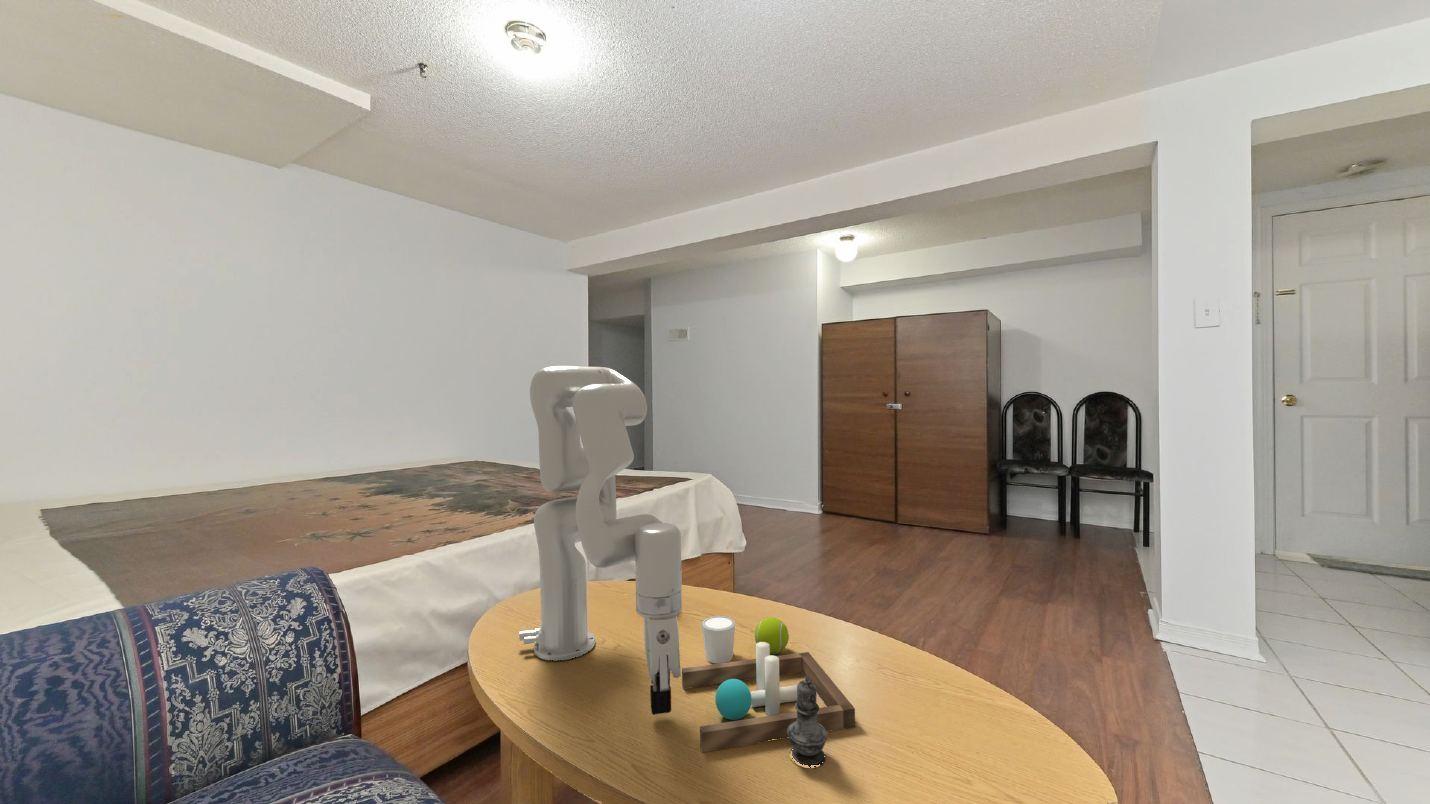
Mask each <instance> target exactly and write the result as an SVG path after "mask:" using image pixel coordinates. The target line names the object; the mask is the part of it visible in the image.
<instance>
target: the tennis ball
mask: <svg viewBox="0 0 1430 804" xmlns="http://www.w3.org/2000/svg"><path fill="white" fill-rule="evenodd" d="M789 637H790V635H789V630H788V627H787V625H786V624H785V623H784V622H783V621H782V620H781V619H779V618H776V617H773V616H772V617H771V616H769V617H766V618H763V619H761V620H760V621H759V622H758V624H757V625H756V627H755V630H754V640H755V643H756V644H757V643H759V642H766V643H768V644H769V645H770V655H777V654H780V653H781V652H783V651H784V650H785V649H786V647H787V645H788V643H789Z"/></svg>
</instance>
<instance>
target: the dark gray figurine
mask: <svg viewBox="0 0 1430 804" xmlns="http://www.w3.org/2000/svg"><path fill="white" fill-rule="evenodd" d="M808 679H809V678H808V677H807V676H806V677H805V676H804V678H803V680H801V681H799V682H798V683H797V684H796V685H797V701H795V704H794V709H795V711H797V721H796V722H793V723H792V724H790V726H789V727H788V729H787V734H788V736H789V738H788V739H789V741H790V744H791V746H792V748H790V750H791V751H792V756H793V758H794V759H795V760H796V761H797V762H799V763H800V764H802V765H803V764H804V765H808V766H809V767H810V766H811V765H819V764H820V765H822V764H823V763H822V762H825V763H826V760H825V759H827V758H825V757H824V756H826V754H824V753H825V752H824V751H823V749H824V747H825V744H826V741H827V740H828V735H829V734H828V732H827V731H826V729H825V728H824V727H823V726H822V725H820V724H819V723H818V722H817V712H818V711H819V708H820V706H819V704H818V703H817V692H816V686H815V684H814V683H813V682H811V681H809V680H808ZM792 749H793V750H792ZM793 758H792V759H793ZM794 762H795V761H794ZM823 765H824V764H823ZM823 765H822V766H823ZM814 767H816V766H814ZM810 768H811V767H810Z"/></svg>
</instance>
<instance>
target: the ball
mask: <svg viewBox="0 0 1430 804" xmlns="http://www.w3.org/2000/svg"><path fill="white" fill-rule="evenodd" d="M751 702H752V698H751V693H750V689H749V686H748V685H747V684H746V683H745V682H744V681H740V680H738V679H729V680H726V681H724V682H723V683H722V684H719V686H718V687H717V689H716V693H715V705H716V708H717V711H718V712H719V714H720V715H721V716H722V717H723V718H724V719H727V720H729V721H738V720H742V719H743V718H744V717H745V716H746V715H748V713H749V711H750V709H751V708H752V707H751Z"/></svg>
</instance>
